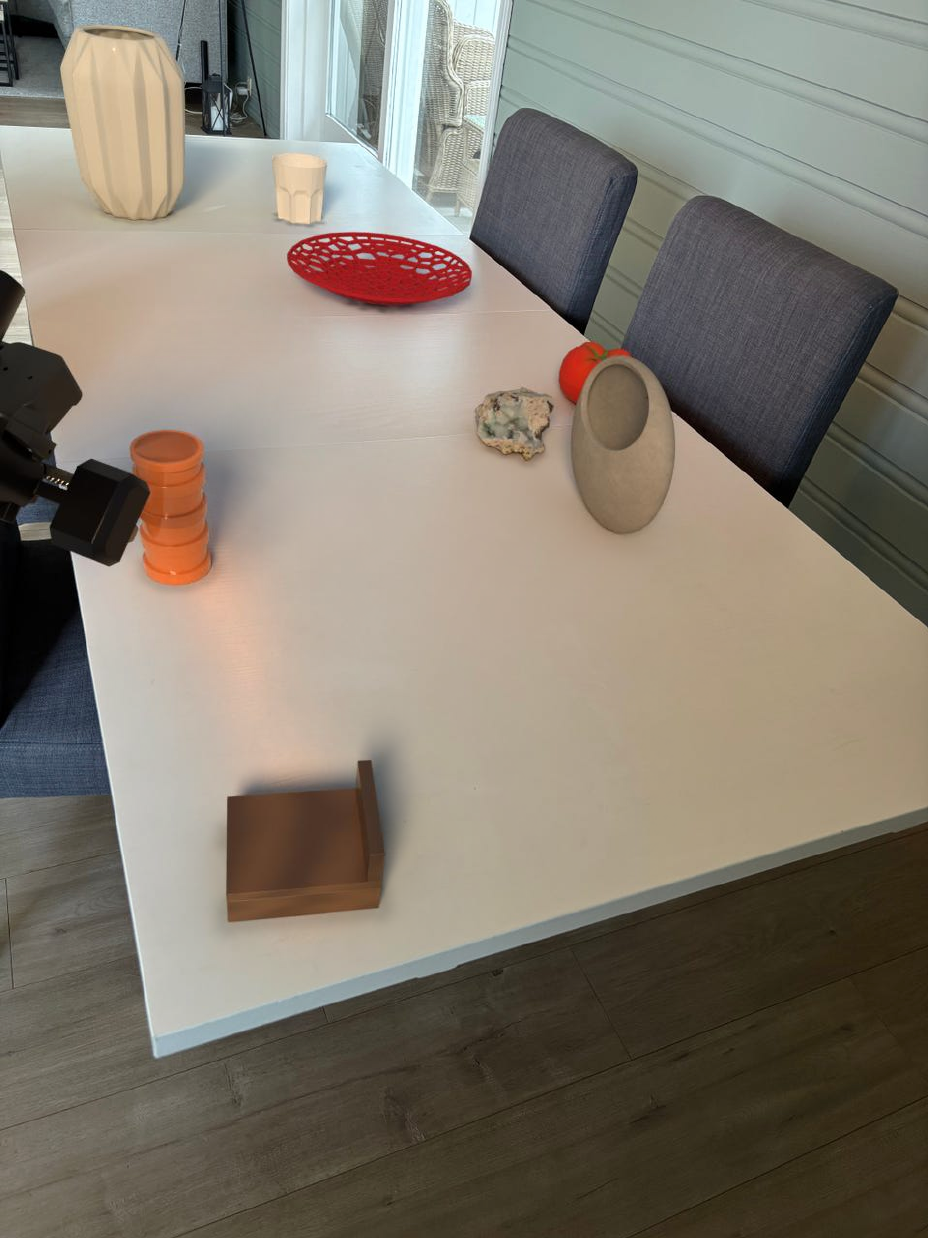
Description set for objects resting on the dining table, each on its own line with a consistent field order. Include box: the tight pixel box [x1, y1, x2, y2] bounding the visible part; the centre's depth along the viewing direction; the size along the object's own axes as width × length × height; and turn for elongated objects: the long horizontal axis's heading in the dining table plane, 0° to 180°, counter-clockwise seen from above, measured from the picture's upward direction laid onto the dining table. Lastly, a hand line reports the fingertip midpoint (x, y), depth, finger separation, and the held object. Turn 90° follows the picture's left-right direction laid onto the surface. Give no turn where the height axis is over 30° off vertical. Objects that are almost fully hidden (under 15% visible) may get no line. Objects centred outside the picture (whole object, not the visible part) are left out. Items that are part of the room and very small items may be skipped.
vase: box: [59, 24, 186, 221], centre depth 156 cm, size 20×20×28 cm
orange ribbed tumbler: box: [129, 429, 212, 586], centre depth 84 cm, size 6×6×13 cm
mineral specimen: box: [474, 386, 556, 461], centre depth 114 cm, size 10×8×10 cm
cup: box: [271, 152, 328, 225], centre depth 170 cm, size 10×10×10 cm
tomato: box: [558, 341, 632, 405], centre depth 125 cm, size 11×11×8 cm
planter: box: [570, 355, 676, 535], centre depth 98 cm, size 18×7×19 cm, turn 20°
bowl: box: [286, 231, 473, 306], centre depth 147 cm, size 29×29×5 cm
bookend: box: [225, 759, 386, 923], centre depth 62 cm, size 10×8×6 cm
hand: (84, 515), depth 70 cm, fingers open, 9 cm apart
